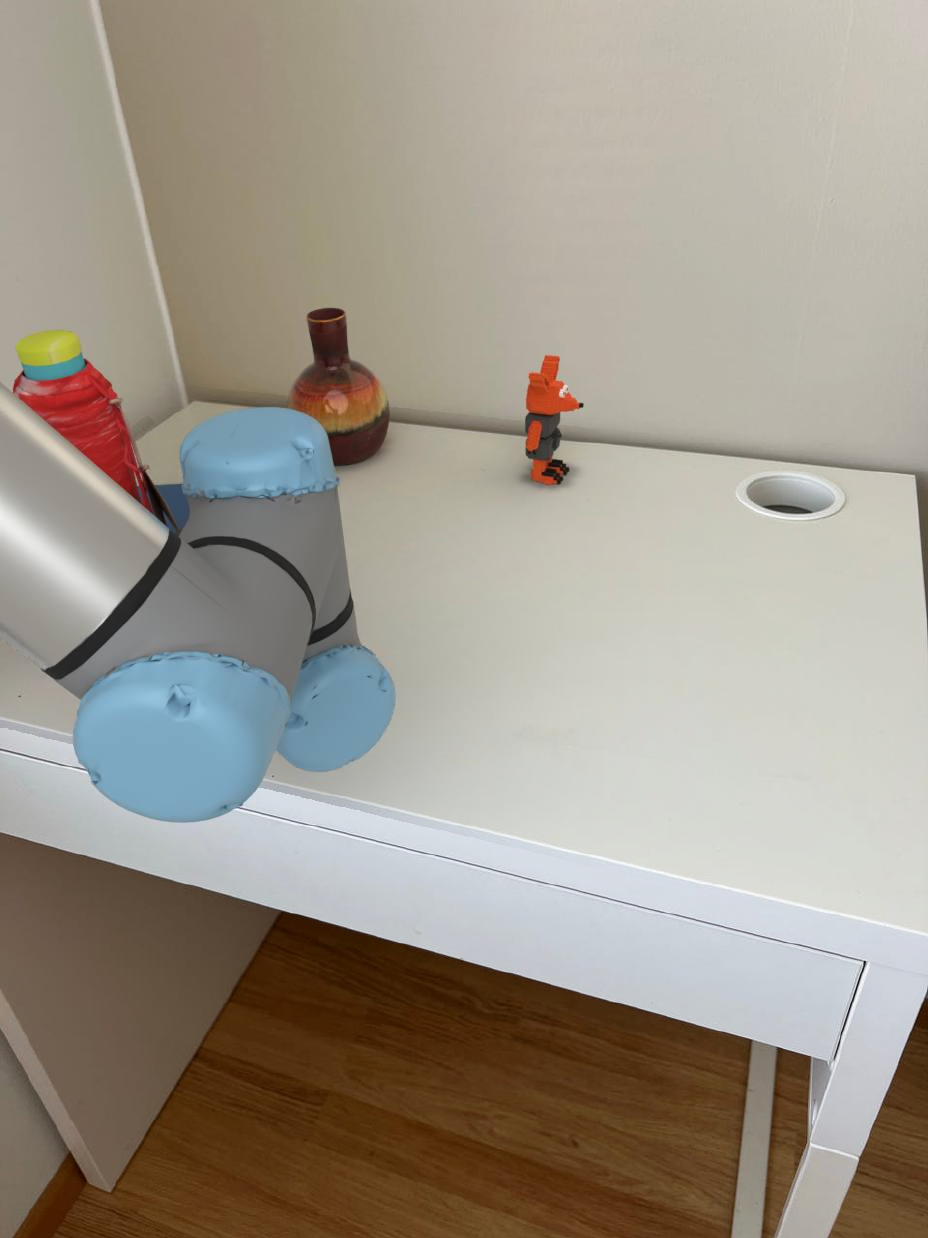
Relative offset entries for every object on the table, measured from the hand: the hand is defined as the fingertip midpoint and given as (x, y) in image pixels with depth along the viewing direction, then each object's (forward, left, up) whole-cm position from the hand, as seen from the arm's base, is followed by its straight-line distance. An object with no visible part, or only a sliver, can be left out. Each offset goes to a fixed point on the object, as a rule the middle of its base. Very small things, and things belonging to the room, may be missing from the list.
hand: (112, 486), depth 79 cm
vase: (+14, +32, -13) cm, 37 cm away
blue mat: (+1, +17, -13) cm, 21 cm away
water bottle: (-1, +1, -13) cm, 13 cm away
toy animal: (+37, +23, -13) cm, 46 cm away
